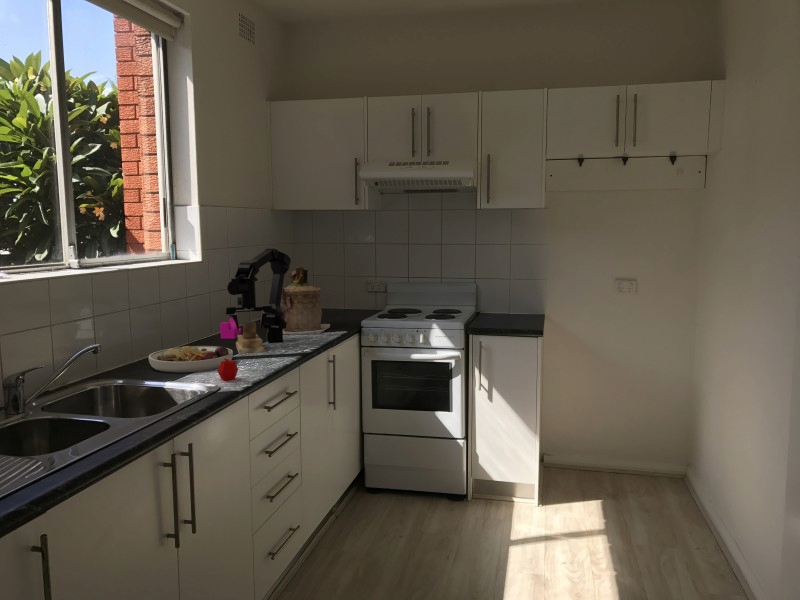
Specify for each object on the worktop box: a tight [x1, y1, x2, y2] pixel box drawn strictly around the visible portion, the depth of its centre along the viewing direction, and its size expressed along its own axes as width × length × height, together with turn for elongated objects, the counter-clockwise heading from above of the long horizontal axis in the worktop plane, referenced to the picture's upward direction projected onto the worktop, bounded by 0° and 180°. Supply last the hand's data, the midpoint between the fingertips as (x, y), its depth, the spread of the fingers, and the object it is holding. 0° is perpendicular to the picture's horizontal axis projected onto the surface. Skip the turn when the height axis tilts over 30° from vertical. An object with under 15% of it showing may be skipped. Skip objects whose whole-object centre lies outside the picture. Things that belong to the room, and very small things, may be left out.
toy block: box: [219, 317, 242, 340], centre depth 314 cm, size 15×6×8 cm, turn 176°
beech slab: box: [235, 341, 266, 355], centre depth 280 cm, size 10×18×3 cm, turn 18°
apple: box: [217, 358, 239, 382], centre depth 226 cm, size 7×7×8 cm
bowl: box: [148, 345, 234, 373], centre depth 251 cm, size 30×30×8 cm
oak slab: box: [236, 333, 264, 349], centre depth 280 cm, size 8×16×3 cm, turn 21°
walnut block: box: [242, 321, 257, 338], centre depth 279 cm, size 5×5×6 cm
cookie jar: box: [280, 265, 331, 336], centre depth 326 cm, size 25×25×32 cm
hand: (249, 329), depth 280 cm, fingers open, 9 cm apart
